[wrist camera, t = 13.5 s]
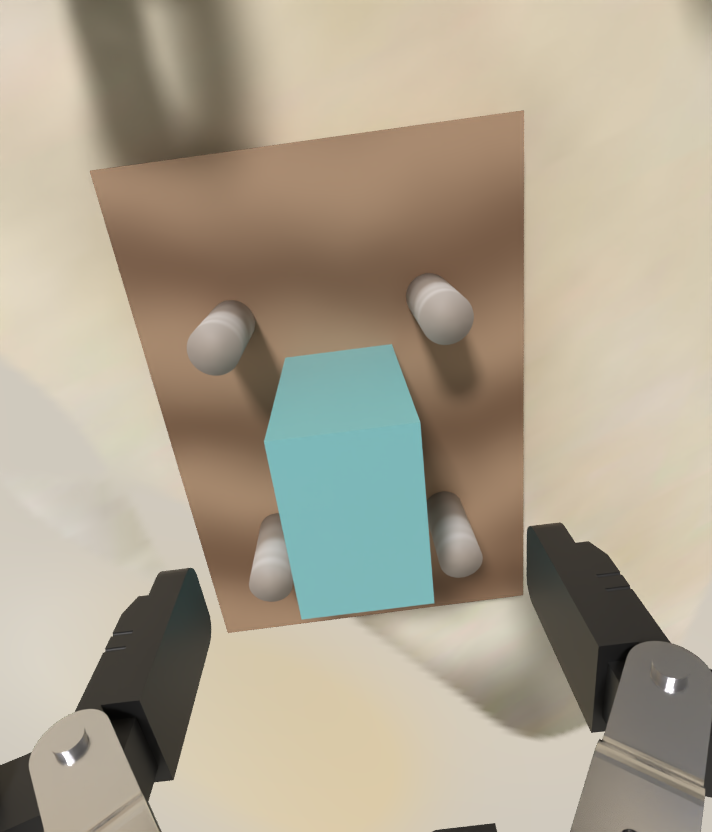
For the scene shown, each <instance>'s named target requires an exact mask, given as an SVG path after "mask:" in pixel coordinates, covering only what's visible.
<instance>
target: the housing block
mask: <svg viewBox="0 0 712 832" xmlns="http://www.w3.org/2000/svg"><path fill="white" fill-rule="evenodd" d="M264 444H265V449H266V454H267V459H268V463H269V468H270V473H271V478H272V482H273V487H274V492H275V496H276V501H277V506H278V511H279V515H280V520H281V525H282V529H283V534H284V539H285V544H286V548H287V553H288V558H289V562H290V567H291V572H292V577H293V581H294V586H295V591H296V596H297V600H298V605H299V610H300V614H301V619H311V618H319V617H327V616H335V615H343V614H351V613H359V612H368V611H376V610H384V609H392V608H400V607H408V606H416V605H424V604H433V603H434V592H433V579H432V566H431V554H430V541H429V528H428V515H427V502H426V489H425V476H424V463H423V450H422V437H421V424H420V420H419V417H418V414H417V412H416V409H415V406H414V404H413V401H412V398H411V395H410V393H409V390H408V387H407V384H406V382H405V379H404V376H403V373H402V371H401V368H400V365H399V362H398V360H397V357H396V354H395V352H394V349H393V346H392V344H389V345H381V346H373V347H366V348H358V349H350V350H342V351H334V352H326V353H318V354H311V355H303V356H295V357H287V358H285V361H284V365H283V369H282V373H281V377H280V381H279V385H278V388H277V392H276V396H275V400H274V404H273V408H272V412H271V416H270V420H269V424H268V428H267V432H266V436H265V440H264Z"/></svg>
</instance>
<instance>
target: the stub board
mask: <svg viewBox="0 0 712 832" xmlns="http://www.w3.org/2000/svg"><path fill="white" fill-rule="evenodd" d="M90 174H91V177H92V180H93V184H94V187H95V191H96V194H97V197H98V201H99V204H100V207H101V211H102V214H103V217H104V221H105V224H106V227H107V231H108V234H109V237H110V241H111V244H112V247H113V251H114V254H115V257H116V261H117V264H118V267H119V271H120V274H121V277H122V281H123V284H124V287H125V291H126V294H127V297H128V301H129V304H130V307H131V311H132V314H133V318H134V321H135V324H136V328H137V331H138V334H139V338H140V341H141V344H142V348H143V351H144V354H145V358H146V361H147V364H148V368H149V371H150V374H151V378H152V381H153V384H154V388H155V391H156V394H157V398H158V401H159V404H160V408H161V411H162V414H163V418H164V421H165V424H166V428H167V431H168V434H169V438H170V441H171V444H172V448H173V451H174V455H175V458H176V461H177V465H178V468H179V471H180V475H181V478H182V481H183V485H184V488H185V491H186V495H187V498H188V501H189V505H190V508H191V511H192V515H193V518H194V521H195V525H196V528H197V531H198V535H199V538H200V541H201V545H202V548H203V551H204V555H205V558H206V561H207V565H208V568H209V571H210V575H211V578H212V582H213V585H214V588H215V591H216V595H217V598H218V601H219V605H220V608H221V612H222V615H223V618H224V622H225V625H226V628H227V632H228V633H231V632H239V631H246V630H254V629H262V628H269V627H278V626H285V625H293V624H301V623H309V622H317V621H325V620H332V619H340V618H348V617H356V616H364V615H371V614H379V613H387V612H395V611H403V610H410V609H418V608H426V607H434V606H441V605H449V604H457V603H465V602H473V601H480V600H488V599H496V598H504V597H512V596H519V595H523V302H524V110H523V111H516V112H509V113H502V114H495V115H487V116H480V117H473V118H466V119H459V120H451V121H444V122H437V123H430V124H423V125H415V126H408V127H401V128H394V129H387V130H379V131H372V132H365V133H358V134H351V135H344V136H336V137H329V138H322V139H315V140H308V141H300V142H293V143H286V144H279V145H272V146H264V147H257V148H250V149H243V150H236V151H229V152H221V153H214V154H207V155H200V156H193V157H185V158H178V159H171V160H164V161H157V162H149V163H142V164H135V165H128V166H121V167H114V168H106V169H99V170H92V171H90ZM389 344H392V346H393V349H394V352H395V354H396V357H397V360H398V362H399V365H400V368H401V371H402V373H403V376H404V379H405V382H406V384H407V387H408V390H409V393H410V395H411V398H412V401H413V404H414V406H415V409H416V412H417V414H418V417H419V420H420V424H421V437H422V450H423V463H424V476H425V489H426V502H427V515H428V528H429V541H430V554H431V566H432V579H433V592H434V603H433V604H424V605H416V606H408V607H400V608H392V609H384V610H376V611H368V612H359V613H351V614H343V615H335V616H327V617H319V618H311V619H301V614H300V610H299V605H298V600H297V596H296V591H295V586H294V581H293V577H292V572H291V567H290V562H289V558H288V553H287V548H286V544H285V539H284V534H283V529H282V525H281V520H280V515H279V511H278V506H277V501H276V496H275V492H274V487H273V482H272V478H271V473H270V468H269V463H268V459H267V454H266V449H265V444H264V440H265V436H266V432H267V428H268V424H269V420H270V416H271V412H272V408H273V404H274V400H275V396H276V392H277V388H278V385H279V381H280V377H281V373H282V369H283V365H284V361H285V358H287V357H295V356H303V355H311V354H318V353H326V352H334V351H342V350H350V349H358V348H366V347H373V346H381V345H389Z"/></svg>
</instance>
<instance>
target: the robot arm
mask: <svg viewBox="0 0 712 832" xmlns="http://www.w3.org/2000/svg"><path fill="white" fill-rule="evenodd" d="M527 585H528V590H529V595H530V598H531V601H532V604H533V606H534V608H535V610H536V613H537V615H538V617H539V619H540V621H541V624H542V626H543V628H544V630H545V632H546V635H547V637H548V639H549V641H550V643H551V645H552V648H553V650H554V652H555V654H556V656H557V659H558V661H559V663H560V665H561V667H562V670H563V672H564V674H565V676H566V678H567V680H568V683H569V685H570V687H571V689H572V691H573V694H574V696H575V698H576V700H577V702H578V704H579V707H580V709H581V711H582V713H583V715H584V718H585V720H586V722H587V724H588V726H589V729H590V731H591V733H593V732H602V731H605V733H604V737H603V739H602V740H599V741H598V743H597V745H596V748H595V751H594V754H593V758H592V761H591V764H590V767H589V771H588V774H587V778H586V781H585V784H584V787H583V791H582V794H581V798H580V801H579V804H578V807H577V811H576V814H575V817H574V820H573V824H572V827H571V831H570V832H701V825H702V817H703V808H704V799H705V796H707V797H712V670H711V669H709V668H708V666H707V665H706V664H705V663H704V662H703V661H702V660H701V659H700V658H699V657H698V656H696V655H695V654H693V653H692V652H690V651H688V650H687V649H685V648H683V647H680V646H678V645H675V644H672V643H670V641H669V640H668V639H667V637H666V636H665V634H664V633H663V632H662V630H661V629H660V627H659V626H658V625H657V623H656V622H655V620H654V619H653V618H652V616H651V615H650V613H649V612H648V611H647V609H646V608H645V606H644V605H643V604H642V602H641V601H640V599H639V598H638V596H637V595H636V594H635V592H634V591H633V589H630V585H629V584H628V582H627V581H626V580H625V578H624V577H623V575H620V571H619V570H618V568H617V567H616V566H615V564H614V563H613V561H612V560H611V559H610V557H609V556H608V555H607V554H606V553H604V552H603V551H602V550H600V549H599V548H597V547H596V546H594V545H593V544H591V543H590V542H589V541H588V542H580V543H575V542H574V540H573V539H572V537H571V535H570V534H569V532H568V531H567V529H566V528H565V526H564V525H563V524H562V523H552V524H544V525H536V526H529V527H528V529H527ZM210 639H211V621H210V615H209V612H208V609H207V606H206V602H205V599H204V596H203V593H202V590H201V587H200V584H199V581H198V577H197V574H196V572H195V570H194V569H193V568H186V569H178V570H170V571H162V572H160V573H159V574H158V575H157V577H156V579H155V582H154V584H153V586H152V589H151V591H150V593H149V595H147V596H139V597H138V598H137V599H136V600H135V601H134V602H133V603H132V604H131V605H130V606H129V607H128V608H127V609H126V610H125V611H124V612H123V614H122V615H121V617H120V619H119V621H118V623H117V625H116V627H115V629H114V632H113V637H111V638H110V640H109V642H108V644H107V646H106V648H105V649H106V651H105V652H104V653H103V655H102V657H101V659H100V661H99V663H98V665H97V667H96V669H95V671H94V673H93V675H92V677H91V680H90V681H89V683H88V686H87V688H86V690H85V692H84V694H83V696H82V698H81V700H80V702H79V704H78V706H77V708H76V710H75V712H74V713H72V714H69V715H68V716H66V717H64V718H62V719H61V720H59V721H58V722H56V723H55V724H54V725H53V726H51V727H50V728H49V729H48V730H47V731H46V732H45V733H44V734H43V735H42V737H41V738H40V739H39V740H38V742H37V744H36V745H35V746H34V749H33V751H32V752H31V753H29V754H27V755H24V756H22V757H19V758H17V759H15V760H12V761H10V762H7V763H5V764H2V765H0V832H162V831H161V829H160V827H159V825H158V822H157V820H156V818H155V816H154V813H153V811H152V809H151V807H150V805H149V803H148V801H149V797H150V794H151V790H152V787H153V784H154V782H160V781H170V780H174V776H175V772H176V769H177V765H178V761H179V757H180V754H181V750H182V746H183V742H184V739H185V735H186V731H187V727H188V724H189V720H190V716H191V712H192V708H193V705H194V701H195V697H196V693H197V690H198V686H199V682H200V678H201V675H202V670H203V667H204V663H205V659H206V656H207V652H208V648H209V644H210ZM433 832H497V830H496V826H495V823H493V824H484V825H476V826H467V827H458V828H450V829H442V830H435V831H433Z"/></svg>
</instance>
